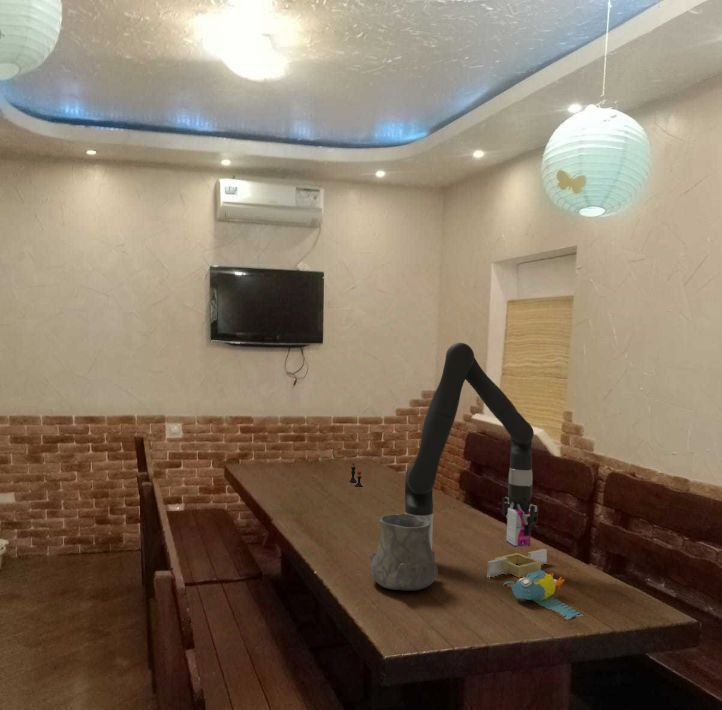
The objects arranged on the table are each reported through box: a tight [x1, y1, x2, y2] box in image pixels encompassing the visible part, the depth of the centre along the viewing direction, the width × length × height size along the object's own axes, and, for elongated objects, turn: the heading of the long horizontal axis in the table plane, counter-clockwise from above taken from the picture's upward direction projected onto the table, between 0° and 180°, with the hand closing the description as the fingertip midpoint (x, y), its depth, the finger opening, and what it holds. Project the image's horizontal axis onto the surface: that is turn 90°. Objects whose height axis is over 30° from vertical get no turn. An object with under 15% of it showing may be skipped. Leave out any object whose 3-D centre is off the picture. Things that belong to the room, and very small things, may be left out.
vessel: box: [370, 513, 439, 591], centre depth 194 cm, size 22×22×20 cm
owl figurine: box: [503, 569, 584, 620], centre depth 185 cm, size 28×9×15 cm
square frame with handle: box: [486, 548, 548, 579], centre depth 209 cm, size 26×10×5 cm, turn 123°
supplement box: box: [506, 508, 532, 548], centre depth 209 cm, size 6×6×12 cm
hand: (518, 532), depth 209 cm, fingers closed on supplement box, 6 cm apart
